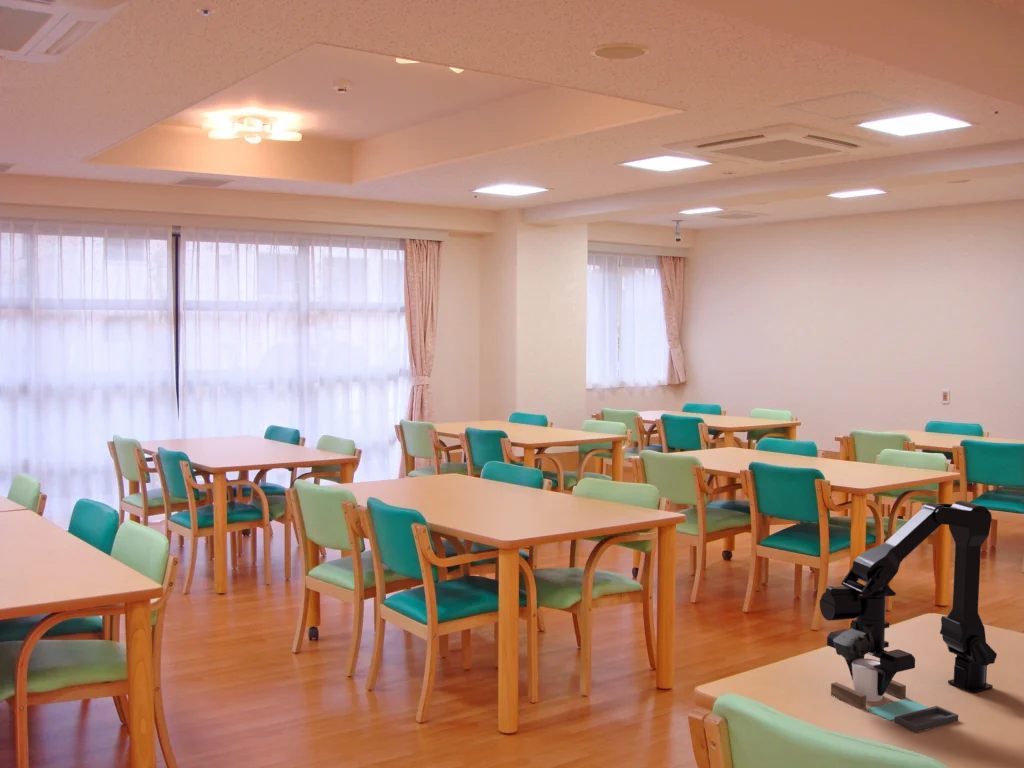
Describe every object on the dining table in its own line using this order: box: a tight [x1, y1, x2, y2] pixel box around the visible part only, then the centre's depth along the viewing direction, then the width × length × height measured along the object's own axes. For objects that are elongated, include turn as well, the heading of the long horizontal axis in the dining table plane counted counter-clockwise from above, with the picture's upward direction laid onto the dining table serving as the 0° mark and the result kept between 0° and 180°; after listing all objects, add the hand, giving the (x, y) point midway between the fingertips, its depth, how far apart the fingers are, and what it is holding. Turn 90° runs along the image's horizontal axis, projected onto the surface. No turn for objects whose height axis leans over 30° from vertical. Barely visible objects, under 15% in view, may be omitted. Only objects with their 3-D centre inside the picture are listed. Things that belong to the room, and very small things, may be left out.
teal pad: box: [866, 698, 930, 722], centre depth 197 cm, size 12×6×1 cm, turn 118°
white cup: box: [852, 657, 884, 702], centre depth 204 cm, size 7×7×7 cm
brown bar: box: [830, 679, 907, 710], centre depth 204 cm, size 13×8×2 cm, turn 118°
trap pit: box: [894, 705, 959, 733], centre depth 191 cm, size 12×5×1 cm, turn 118°
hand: (868, 690), depth 204 cm, fingers closed on white cup, 6 cm apart
